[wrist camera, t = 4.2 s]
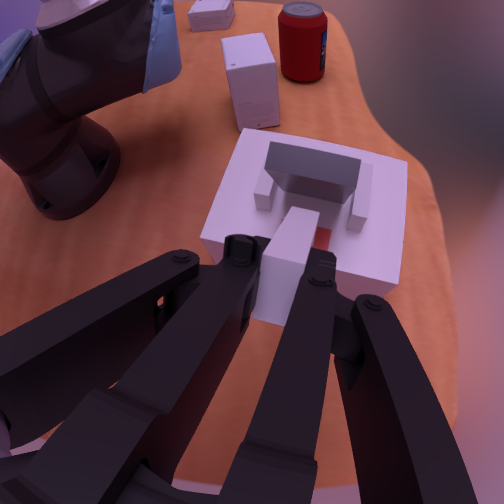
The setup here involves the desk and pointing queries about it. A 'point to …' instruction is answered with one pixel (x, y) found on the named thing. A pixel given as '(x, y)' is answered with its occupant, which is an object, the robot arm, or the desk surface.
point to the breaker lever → (312, 172)
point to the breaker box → (331, 213)
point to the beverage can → (302, 40)
